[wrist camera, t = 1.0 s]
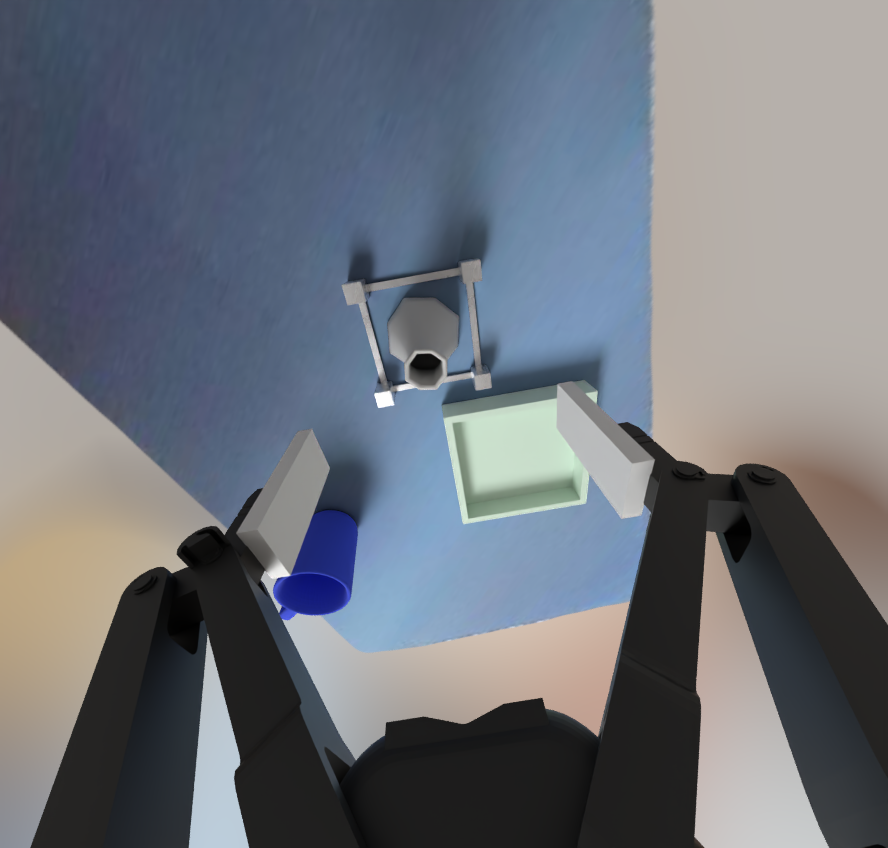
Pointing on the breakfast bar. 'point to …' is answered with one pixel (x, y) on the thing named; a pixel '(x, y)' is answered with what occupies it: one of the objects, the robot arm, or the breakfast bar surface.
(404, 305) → the flask
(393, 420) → the breakfast bar surface
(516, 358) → the breakfast bar surface
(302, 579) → the mug
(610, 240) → the breakfast bar surface
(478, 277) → the socket
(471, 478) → the bin
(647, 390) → the breakfast bar surface
